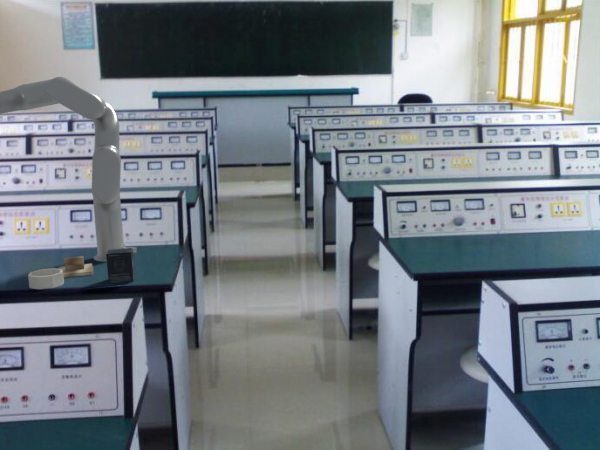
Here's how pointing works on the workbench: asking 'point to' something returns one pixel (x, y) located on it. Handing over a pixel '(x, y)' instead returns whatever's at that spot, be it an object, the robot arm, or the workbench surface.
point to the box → (120, 265)
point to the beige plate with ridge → (76, 267)
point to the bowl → (46, 278)
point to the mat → (85, 275)
